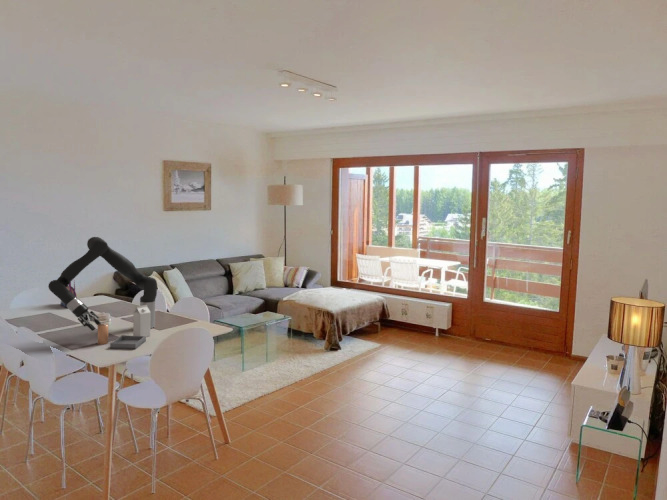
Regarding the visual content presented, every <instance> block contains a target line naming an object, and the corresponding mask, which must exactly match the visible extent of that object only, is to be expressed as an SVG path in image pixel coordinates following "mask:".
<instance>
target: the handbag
mask: <svg viewBox="0 0 667 500" xmlns="http://www.w3.org/2000/svg"><path fill="white" fill-rule="evenodd" d="M66 288H67V289H68V290H69V291H70V292H72V293H73V294H74V295H75V296H76V297H77V298H78V294H77V292H76V284H75V281H73V286H72V281H71V282H70V283H69V285H68V286H67V287H66ZM78 299H79V298H78ZM60 306H61V307H64V308H65V309H68V307H67V306H66V305H65V304H64V303H63V302H62V301H61V300H60Z"/></svg>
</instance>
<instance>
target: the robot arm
mask: <svg viewBox="0 0 667 500" xmlns="http://www.w3.org/2000/svg"><path fill="white" fill-rule="evenodd" d="M86 245H87V248H88V250H87V252H85V254H83V256H81V257H80V258H78V259H76V260H74V261H72V262H71V263H70V264H69V265H68V266H67V267H65V269H63V271H62V272H61V273H60V276H59V277H58V278H57V279H53V280H51V281H50V282H49V283H48V286H47V287H48V290H49V291H50V292H51V293H52V294H53V295H54V296H55V297H57V299H59V300H60V302H61V301H62V302H63V303H64V304H65V305H66V306H67V307H68V308H67V309H68V310H69V311H70V312H71V313H72V314H73V315H74V316H75V317H76V318H77V320H78V322H80V324H81V325H82V326H83V327H87V328H89V329H90V331H92V332H94V331H95V330H96V327H95V326H94V325H93V323H95V325H96V326H98V324H102V322H101V321H100V317H99V316H98V315H97V314H96V313H95V312H93V310H90V312H89V311H88V310H89V307H87V305H86V304H85V303H84V302H83V301H82V300H81V299H79V298H77V297H78V296H77V297H76V296H75V295H74V294H73V293H72V292H70V291H69V290H68V289H67V288H66V287H67V286H69V283H70V282H71V283H72V281H74V279H75V278H76V277H77V276H78V275H79V274H80V273H81V272H82V271H83V270H84V269H86V268H87V266H90V264H92V262H94V261H96V259H98V258H99V257H101V258H102V259H104V260H105V262H107V264H109V265H110V266H111V267H112V268H113V269H114V270H116V271H117V272H119V273H120V274H121V275H123V276H124V277H126V278H127V279H129V280H130V281H131V282H133V284H135V286H137V287H138V288H139V289H140V290H142V291H143V295H142V296H140V298H139V306H143V305H147V307H148V309H149V310H150V312H151V322H150V329H153V327H154V328H155V327H156V298H157V292H158V282H157V280H156V278H155V277H152V276H149V275H148V276H147V275H145V274H143V273H142V272H141V271H139V270H138V269H137V267H136V266H135V264H134V263H133V262H132V261H130V260H129V259H128V258H127V257H126V256H124V255H123V254H121V253H119V252H117V251H116V250H114V249H113V248H111V247H110V246H109V245H108V242H107V241H105V240H104V239H103V238H101V237H99V236H92V237H90V238H88V240H87V242H86ZM91 322H93V323H91Z"/></svg>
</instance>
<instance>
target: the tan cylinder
mask: <svg viewBox="0 0 667 500" xmlns="http://www.w3.org/2000/svg"><path fill="white" fill-rule="evenodd" d="M101 323H102V322H101ZM108 344H109V323H105V322H104V323H102V324H98V325H97V345H100V346H101V345H108Z"/></svg>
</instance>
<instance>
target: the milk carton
mask: <svg viewBox="0 0 667 500" xmlns="http://www.w3.org/2000/svg"><path fill="white" fill-rule="evenodd" d="M132 313H133V314H132V315H133V318H132V322H133V325H132V328H133V329H132V331H133V332H132V333H133V334H132V336H146V338H147V337H151V328H150V322H151V312H150V310H149V309H148V307H147V305H143V306H140V305H138V306H136V309H135V310H133V312H132Z"/></svg>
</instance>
